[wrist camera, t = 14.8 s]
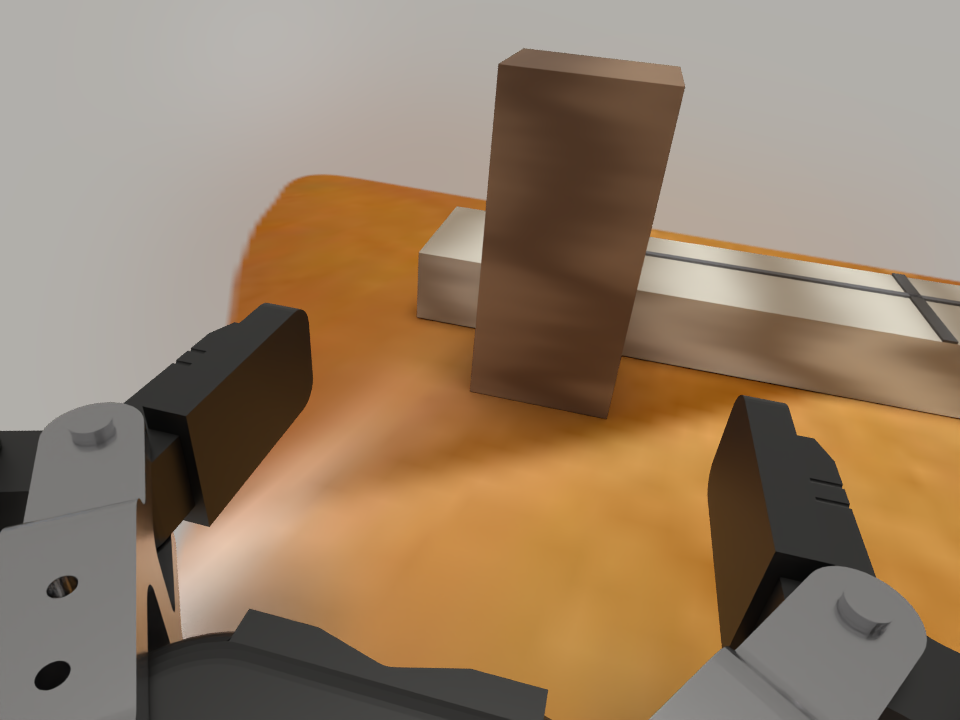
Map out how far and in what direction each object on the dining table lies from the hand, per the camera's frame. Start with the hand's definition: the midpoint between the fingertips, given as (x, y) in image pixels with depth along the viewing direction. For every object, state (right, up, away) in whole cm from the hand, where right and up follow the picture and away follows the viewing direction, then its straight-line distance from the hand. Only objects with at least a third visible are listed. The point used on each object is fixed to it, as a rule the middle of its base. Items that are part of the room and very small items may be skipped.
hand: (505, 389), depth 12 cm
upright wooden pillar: (+3, +1, +15) cm, 15 cm away
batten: (+12, +1, +16) cm, 20 cm away
